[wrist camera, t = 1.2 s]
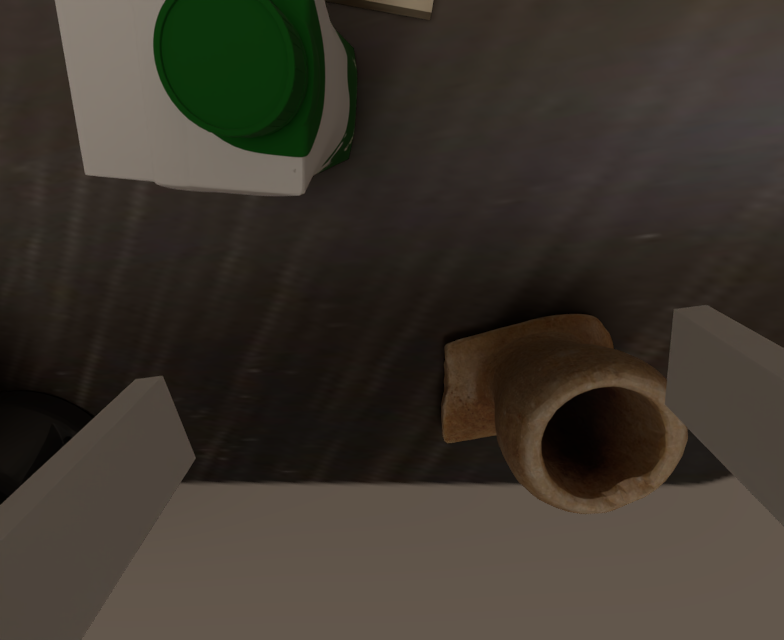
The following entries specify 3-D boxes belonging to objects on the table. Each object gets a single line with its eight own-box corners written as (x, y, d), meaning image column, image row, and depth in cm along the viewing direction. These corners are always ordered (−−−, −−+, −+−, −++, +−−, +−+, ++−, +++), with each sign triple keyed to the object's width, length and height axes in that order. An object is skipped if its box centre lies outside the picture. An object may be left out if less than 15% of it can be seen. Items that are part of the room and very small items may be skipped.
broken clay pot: (602, 274, 35) (732, 366, 21) (610, 399, 40) (721, 542, 26) (415, 314, 37) (423, 423, 23) (442, 429, 41) (462, 579, 27)
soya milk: (360, 173, 33) (307, 225, 14) (236, 161, 32) (19, 199, 14) (368, 33, 29) (311, -138, 11) (230, 19, 29) (-69, -178, 11)
